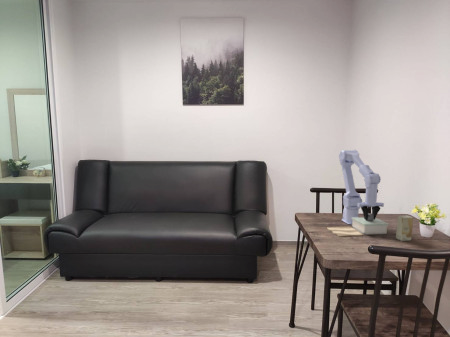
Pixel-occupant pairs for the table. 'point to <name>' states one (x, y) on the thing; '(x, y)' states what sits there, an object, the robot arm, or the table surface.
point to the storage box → (369, 228)
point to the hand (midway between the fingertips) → (369, 219)
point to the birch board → (344, 231)
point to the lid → (369, 220)
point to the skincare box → (404, 228)
